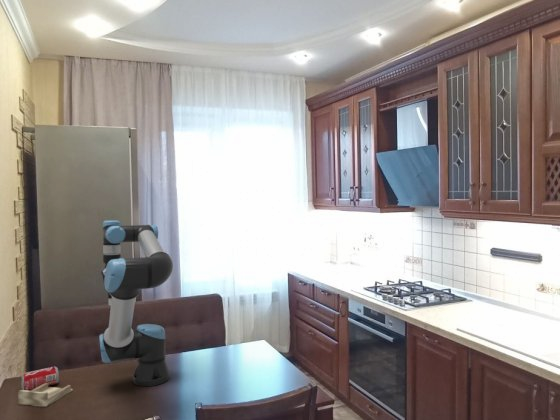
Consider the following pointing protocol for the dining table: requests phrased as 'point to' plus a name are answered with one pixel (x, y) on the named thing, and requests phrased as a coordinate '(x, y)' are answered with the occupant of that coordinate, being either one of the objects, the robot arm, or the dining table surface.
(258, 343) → the dining table surface
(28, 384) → the soda can
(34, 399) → the tray
